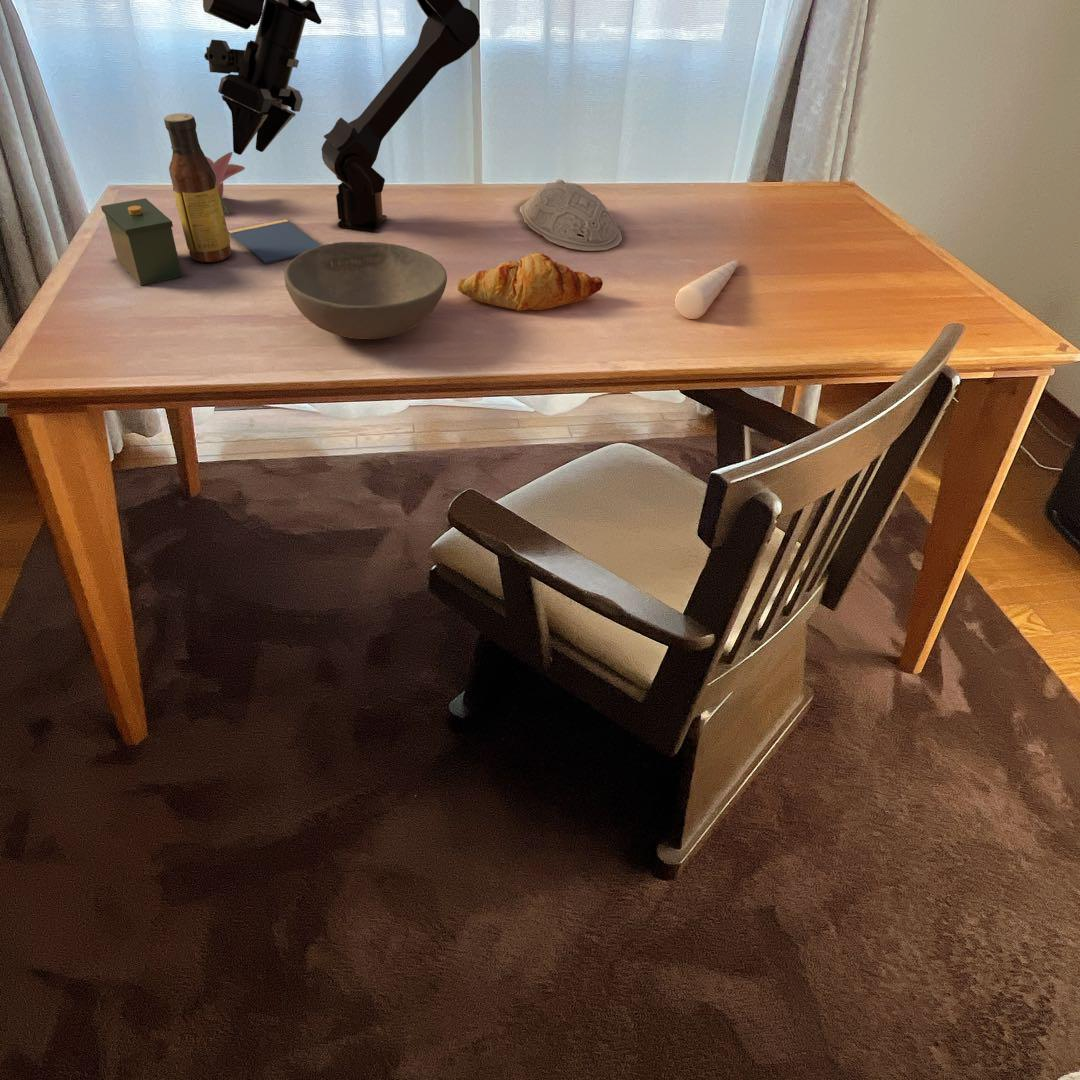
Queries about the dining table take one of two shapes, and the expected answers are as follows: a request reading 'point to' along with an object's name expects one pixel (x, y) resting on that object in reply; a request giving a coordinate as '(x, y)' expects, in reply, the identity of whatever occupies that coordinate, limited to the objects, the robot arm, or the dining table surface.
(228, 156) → the lily
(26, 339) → the dining table surface
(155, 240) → the tin box
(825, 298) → the dining table surface
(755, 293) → the dining table surface
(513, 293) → the croissant
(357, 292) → the bowl
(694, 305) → the unicorn horn
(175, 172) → the sauce bottle
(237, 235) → the blue book
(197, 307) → the dining table surface
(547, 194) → the grey domed shell
